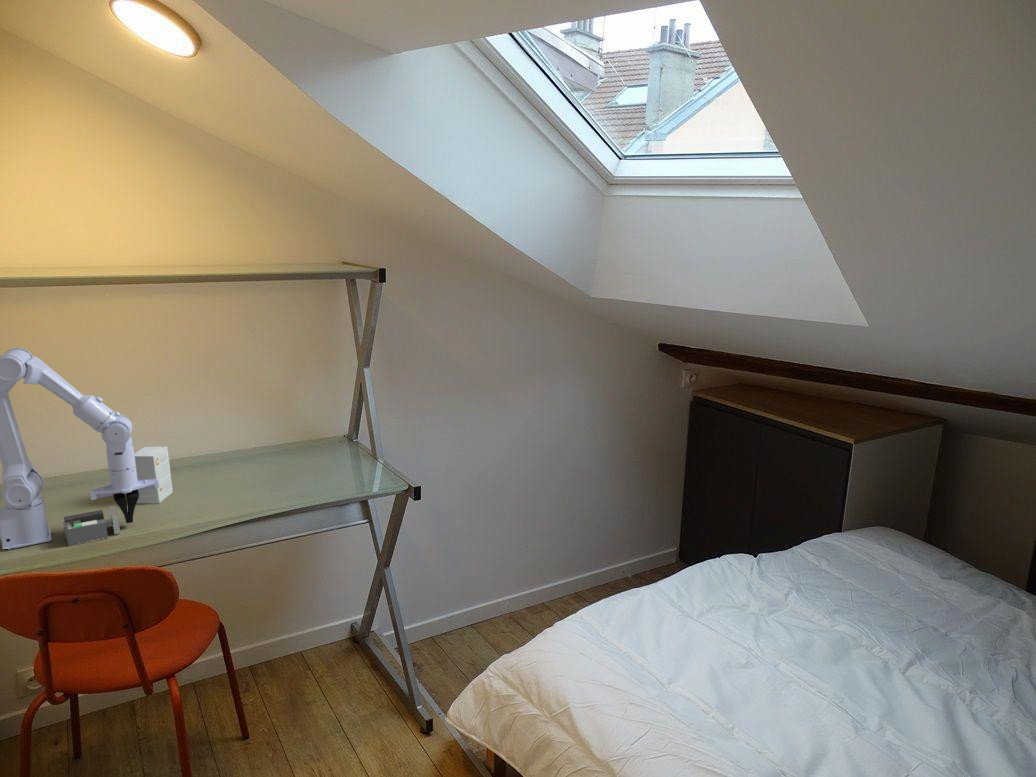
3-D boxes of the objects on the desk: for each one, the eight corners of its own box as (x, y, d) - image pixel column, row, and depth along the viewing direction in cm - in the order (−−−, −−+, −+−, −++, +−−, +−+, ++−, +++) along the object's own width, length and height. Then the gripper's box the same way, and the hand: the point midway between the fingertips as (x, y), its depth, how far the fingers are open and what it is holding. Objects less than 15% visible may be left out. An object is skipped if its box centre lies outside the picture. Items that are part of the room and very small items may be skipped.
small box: (150, 492, 208) (144, 446, 205) (173, 492, 208) (168, 446, 205) (135, 503, 200) (129, 455, 197) (159, 503, 200) (153, 455, 197)
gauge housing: (68, 546, 175) (65, 529, 174) (66, 532, 182) (63, 515, 181) (108, 538, 179) (105, 521, 178) (104, 525, 187) (101, 508, 186)
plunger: (66, 545, 175) (63, 526, 174) (64, 533, 181) (61, 515, 180) (120, 534, 181) (118, 516, 180) (116, 523, 187) (114, 505, 186)
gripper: (88, 478, 175) (96, 534, 178) (158, 466, 183) (164, 520, 186) (86, 469, 181) (93, 523, 184) (153, 458, 188) (160, 510, 192)
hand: (129, 521), depth 185 cm, fingers closed
